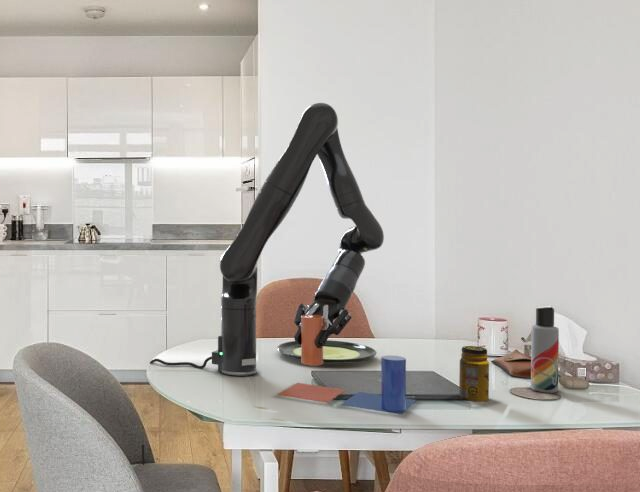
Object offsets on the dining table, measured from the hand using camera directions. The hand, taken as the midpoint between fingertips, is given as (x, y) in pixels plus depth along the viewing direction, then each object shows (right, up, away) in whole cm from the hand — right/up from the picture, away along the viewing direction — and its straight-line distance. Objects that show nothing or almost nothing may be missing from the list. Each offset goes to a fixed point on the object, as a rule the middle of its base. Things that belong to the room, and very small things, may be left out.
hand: (307, 343), depth 166 cm
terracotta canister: (+1, -5, +1) cm, 5 cm away
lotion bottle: (+58, -12, +5) cm, 59 cm away
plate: (+15, -12, +42) cm, 46 cm away
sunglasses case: (+62, -12, +25) cm, 68 cm away
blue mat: (+14, -12, -7) cm, 20 cm away
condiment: (+36, -12, -4) cm, 38 cm away
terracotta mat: (+1, -12, +1) cm, 12 cm away
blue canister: (+16, -12, -12) cm, 23 cm away
